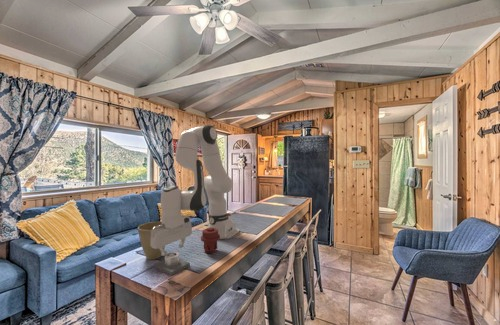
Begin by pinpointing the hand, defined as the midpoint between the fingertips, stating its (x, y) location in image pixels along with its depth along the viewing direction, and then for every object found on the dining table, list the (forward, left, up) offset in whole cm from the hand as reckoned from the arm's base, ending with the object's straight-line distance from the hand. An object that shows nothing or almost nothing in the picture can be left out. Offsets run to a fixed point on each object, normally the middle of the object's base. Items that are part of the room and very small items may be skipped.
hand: (173, 251), depth 102 cm
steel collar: (0, 0, -6) cm, 6 cm away
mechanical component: (-21, +3, -7) cm, 23 cm away
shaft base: (+1, 0, -7) cm, 7 cm away
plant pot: (-1, -17, -7) cm, 19 cm away
